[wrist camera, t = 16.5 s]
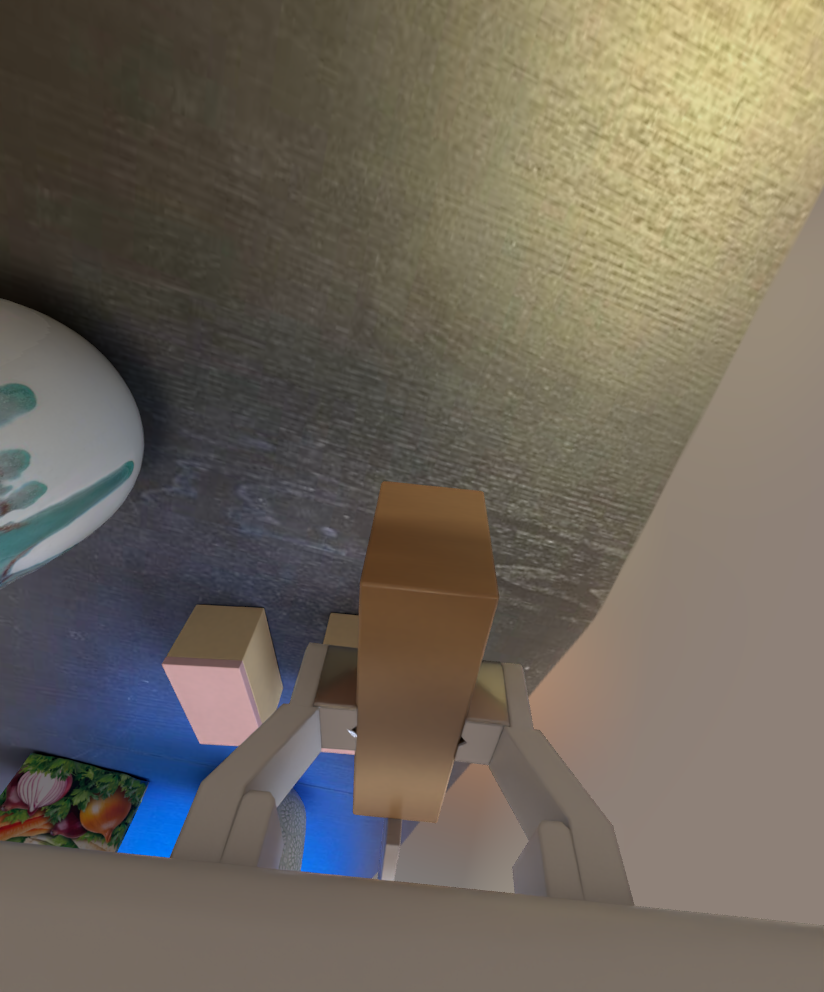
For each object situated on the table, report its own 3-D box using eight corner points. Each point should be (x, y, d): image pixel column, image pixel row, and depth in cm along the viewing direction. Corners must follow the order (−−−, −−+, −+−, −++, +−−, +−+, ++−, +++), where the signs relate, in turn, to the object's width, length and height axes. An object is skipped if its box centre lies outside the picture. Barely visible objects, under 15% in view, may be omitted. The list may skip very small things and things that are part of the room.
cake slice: (264, 607, 32) (239, 668, 28) (283, 687, 38) (264, 747, 34) (196, 604, 32) (161, 664, 28) (225, 684, 38) (199, 744, 34)
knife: (381, 479, 10) (352, 610, 7) (484, 489, 10) (504, 626, 7) (360, 849, 22) (346, 962, 19) (407, 854, 22) (401, 968, 19)
